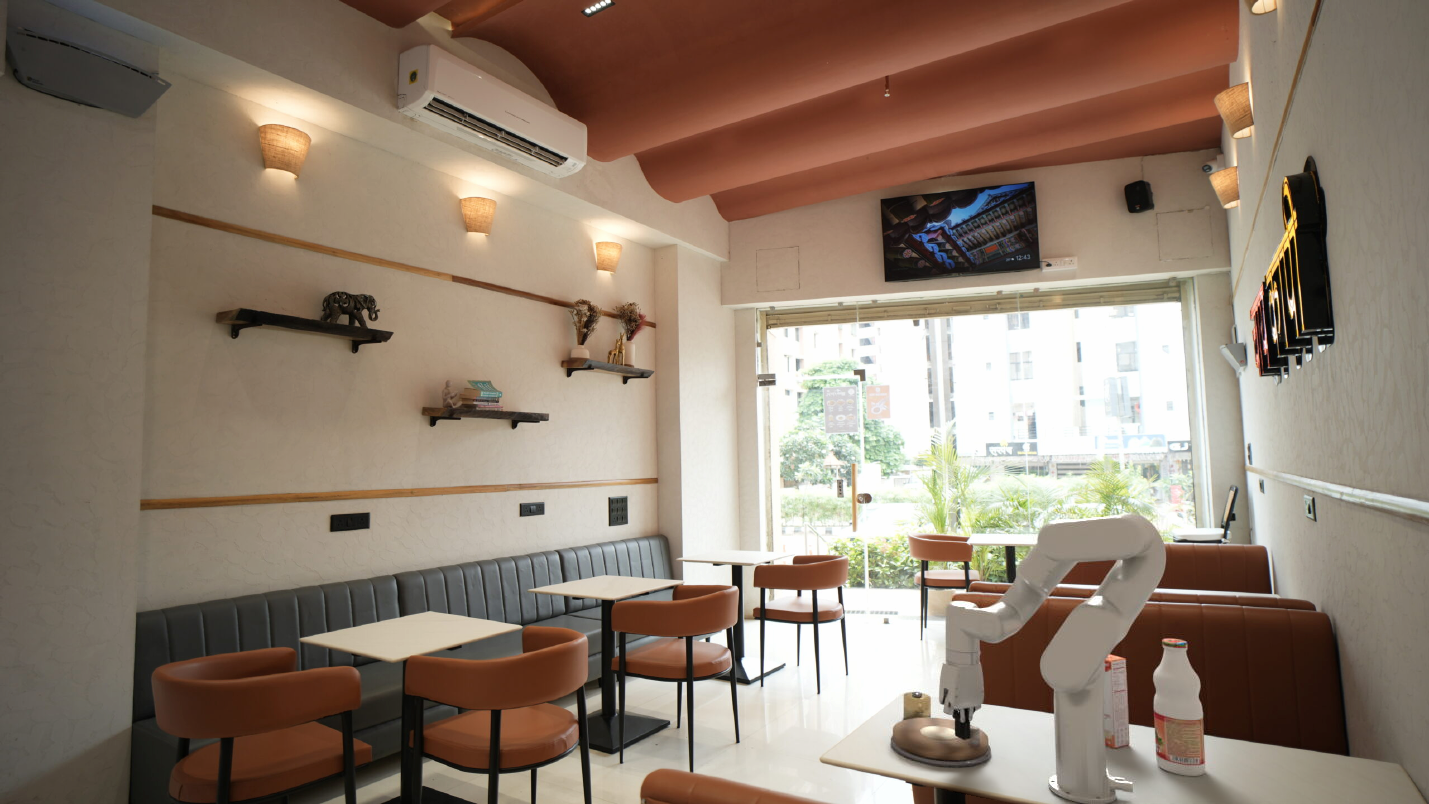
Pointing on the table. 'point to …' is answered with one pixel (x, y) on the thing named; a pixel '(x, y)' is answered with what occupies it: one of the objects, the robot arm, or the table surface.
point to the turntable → (938, 739)
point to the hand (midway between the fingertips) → (962, 737)
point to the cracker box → (1116, 702)
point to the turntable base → (941, 762)
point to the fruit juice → (1178, 713)
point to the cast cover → (917, 705)
